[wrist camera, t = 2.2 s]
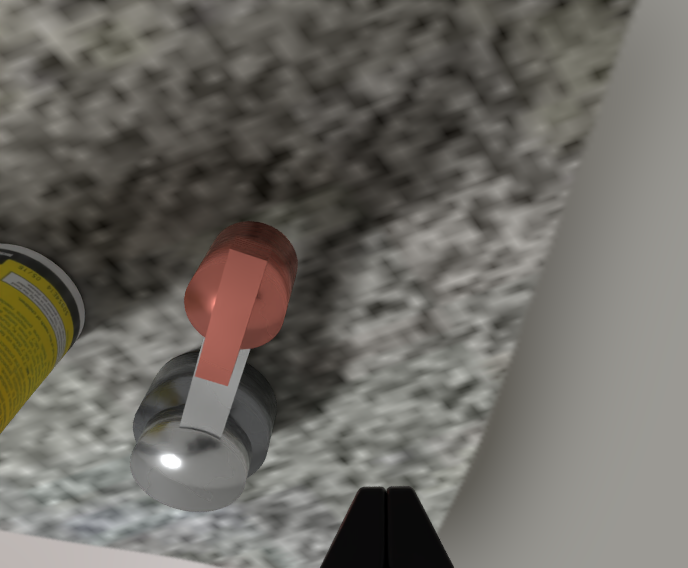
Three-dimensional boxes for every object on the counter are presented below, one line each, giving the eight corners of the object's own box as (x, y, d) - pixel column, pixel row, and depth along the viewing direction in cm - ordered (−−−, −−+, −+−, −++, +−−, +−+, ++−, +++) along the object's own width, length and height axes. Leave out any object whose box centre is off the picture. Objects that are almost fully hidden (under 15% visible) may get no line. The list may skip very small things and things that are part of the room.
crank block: (143, 427, 23) (124, 464, 22) (164, 335, 21) (144, 369, 19) (258, 460, 24) (249, 499, 22) (291, 374, 22) (284, 410, 20)
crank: (238, 492, 22) (217, 570, 19) (137, 463, 21) (100, 540, 19) (339, 225, 16) (331, 282, 13) (202, 178, 16) (163, 227, 13)
